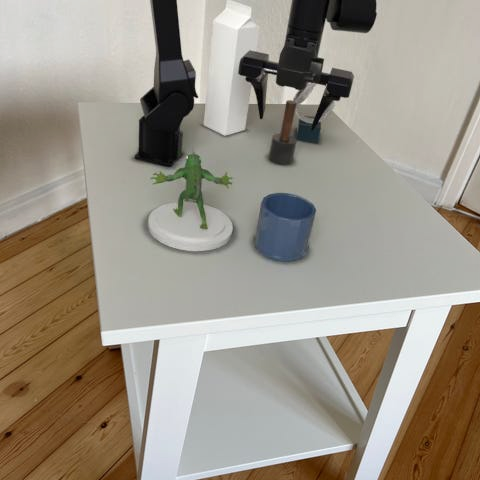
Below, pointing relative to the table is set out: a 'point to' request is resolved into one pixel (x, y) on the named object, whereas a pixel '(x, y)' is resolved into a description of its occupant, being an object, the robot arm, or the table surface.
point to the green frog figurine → (190, 212)
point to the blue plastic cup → (284, 226)
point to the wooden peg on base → (284, 138)
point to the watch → (308, 117)
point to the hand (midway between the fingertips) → (286, 124)
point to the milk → (229, 69)
